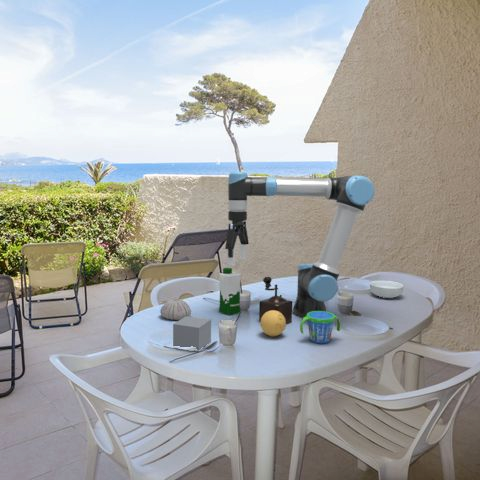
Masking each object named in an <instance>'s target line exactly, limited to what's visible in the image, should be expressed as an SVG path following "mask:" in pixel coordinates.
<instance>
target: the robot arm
mask: <svg viewBox="0 0 480 480" xmlns="http://www.w3.org/2000/svg"><path fill="white" fill-rule="evenodd" d="M227 184H228V185H227V187H228V189H227V191H228V201H227V205H228V210H229V211H228V212H227V213H228V214H227V215H228V220H229V221H231V223H228V231H227V235H226V236H227V237H226V240H225V250H227V266H230V267H231V266H235V264H236V250H235V246H236V242H237V239H239V260H240V261H246V260H247V245H249V243H250V242H249V236H248V231H247V222H246V221H247V220H248V212H247V210H248V196H249V197H274V196H277V197H278V196H281V197H283V196H285V197H306V198H307V197H311V198H324V199H325V200H327V201H328V200H329V201H331V200H332V201H336V202H335V204H336V206H337V209H336V212H335V215H334V218H333V221H332V222H331V226H330V228H329V230H328V234H327V236H326V239H325V242H324V244H323V247H322V250H321V251H320V255H319V258H318V260H317V261H315V262H314V263H300V264H299V265H298V267H297V269H298V270H297V294H296V295H297V297H296V299H295V302H294V304H293V306H292V314H294V315H295V316H297V317H300V318H304V317H306V316H307V313H309V312H312V311H325V312H327V307H326V303H325V302H329V301H330V300H332V299H333V298H334V297H335V296H336V294H337V293H338V290H339V285H338V278H339V276H340V271H339V269H338V268H339V266H340V263H341V260H342V257H343V255H344V252H345V249H346V248H347V247H346V246H347V243H348V242H349V240H350V237H351V234H352V230H353V229H354V225H355V223H356V221H357V217H358V216H359V215H360V214H362V213H363V212H364V210H365V207H366V205H368V204H369V202H371V201H372V200H373V198H374V196H375V188H374V187H375V186H374V184H373V183H372V181H371V180H370V179H369V178H368V177H366V176H363V175H360V174H358V175H346V176H340V177H339V176H338V177H326V179H315V178H313V179H312V178H310V179H309V178H307V179H306V178H284V177H283V178H278V177H270V176H268V177H266V176H261V177H258V176H257V177H256V176H255V177H251V176H248V173H247V172H244V171H231V172H230V173H229V174H228V183H227Z"/></svg>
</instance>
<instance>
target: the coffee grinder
mask: <svg viewBox="0 0 480 480" xmlns="http://www.w3.org/2000/svg"><path fill="white" fill-rule="evenodd" d="M272 279H273V278H272V277H271V276H265V277H263V278H262V281H263V283H264V284H265V285H264V287H265V288H264V289H265V291H274V295H273V296H271V297H269V298H266V299H262V300H260V301H259V302H258V303H259V306H258V307H259V308H258V309H259V312H258V314H259V315H258V317H259V319H258V322H259V323H260V322H261V318H262V316H263V315H264V314H265V313H266V312H268V311H271V310H275V311H279V312H281V314H282V315H283V316H284V317H285V319H286V320H285V321H286V325H289V324H291V323H292V322H293V300H289V299H287V298H284V297H283V296H282V294H280V295H278V289H279V288H278V286H279V285H278V284H274V288H271V287H272V284H271V282H272Z"/></svg>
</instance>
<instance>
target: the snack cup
mask: <svg viewBox="0 0 480 480" xmlns="http://www.w3.org/2000/svg"><path fill="white" fill-rule="evenodd" d="M335 319H337V321H336V331H337V332H340V331H341V328H342V327H341V326H342V325H341V320H340V318H339V317H338V316H336V315H335V314H334V313H332V312H330V311H326V312H325V311H312V312H309V313H307V316H306V317H302V320H301V321H300V326H299V328H300V333H301V334H304V323H305V322H306V321H307V325H308V333H309V339H310V341H311V342H313V343H314V344H327V343H330V340H331V338H332V333H333V327H334V322H335Z"/></svg>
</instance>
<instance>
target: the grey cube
mask: <svg viewBox="0 0 480 480" xmlns="http://www.w3.org/2000/svg"><path fill="white" fill-rule="evenodd" d="M172 340H173V346H180V347H191V346H193V347H196V349H197V350H198V352H197V353H199V350H200V349H201V348H202V347H204V346H206V345H207V344H208V345H210V344H211V343H212V319H211V318H203V317H196V316H195V317H194V316H186V317H184V318H182V319H181V320H176V322H174V323H172ZM210 342H211V343H210ZM209 343H210V344H209ZM208 345H207V346H208ZM207 346H206V347H207Z"/></svg>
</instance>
